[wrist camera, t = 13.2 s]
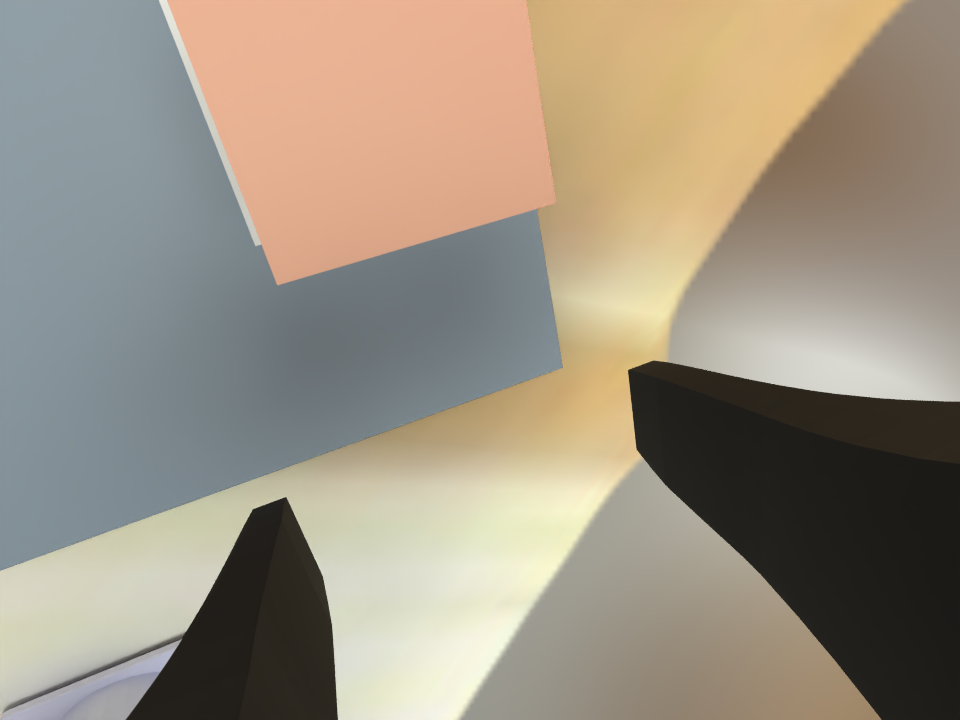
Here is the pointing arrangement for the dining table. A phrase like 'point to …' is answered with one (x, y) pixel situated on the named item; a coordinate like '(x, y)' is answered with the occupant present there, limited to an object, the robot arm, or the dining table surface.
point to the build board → (200, 296)
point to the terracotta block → (370, 119)
